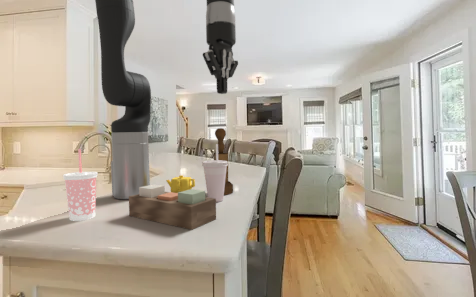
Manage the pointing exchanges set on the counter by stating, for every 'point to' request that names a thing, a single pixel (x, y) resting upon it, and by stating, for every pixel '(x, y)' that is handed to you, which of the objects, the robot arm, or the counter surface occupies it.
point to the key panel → (173, 211)
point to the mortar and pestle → (223, 158)
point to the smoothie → (215, 177)
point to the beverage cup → (81, 193)
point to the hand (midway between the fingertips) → (222, 93)
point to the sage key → (191, 196)
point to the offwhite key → (151, 191)
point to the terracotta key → (168, 196)
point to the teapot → (181, 184)
